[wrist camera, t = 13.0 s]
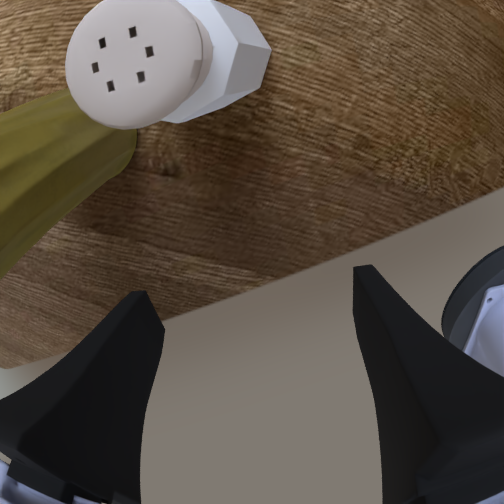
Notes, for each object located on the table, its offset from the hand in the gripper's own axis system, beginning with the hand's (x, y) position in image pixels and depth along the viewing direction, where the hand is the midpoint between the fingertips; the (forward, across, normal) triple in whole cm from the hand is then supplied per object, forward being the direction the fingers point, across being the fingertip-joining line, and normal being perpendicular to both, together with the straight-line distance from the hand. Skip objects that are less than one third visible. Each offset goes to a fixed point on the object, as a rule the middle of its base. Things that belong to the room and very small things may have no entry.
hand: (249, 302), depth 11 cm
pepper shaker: (+9, +1, -8) cm, 12 cm away
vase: (+9, +9, -6) cm, 14 cm away
